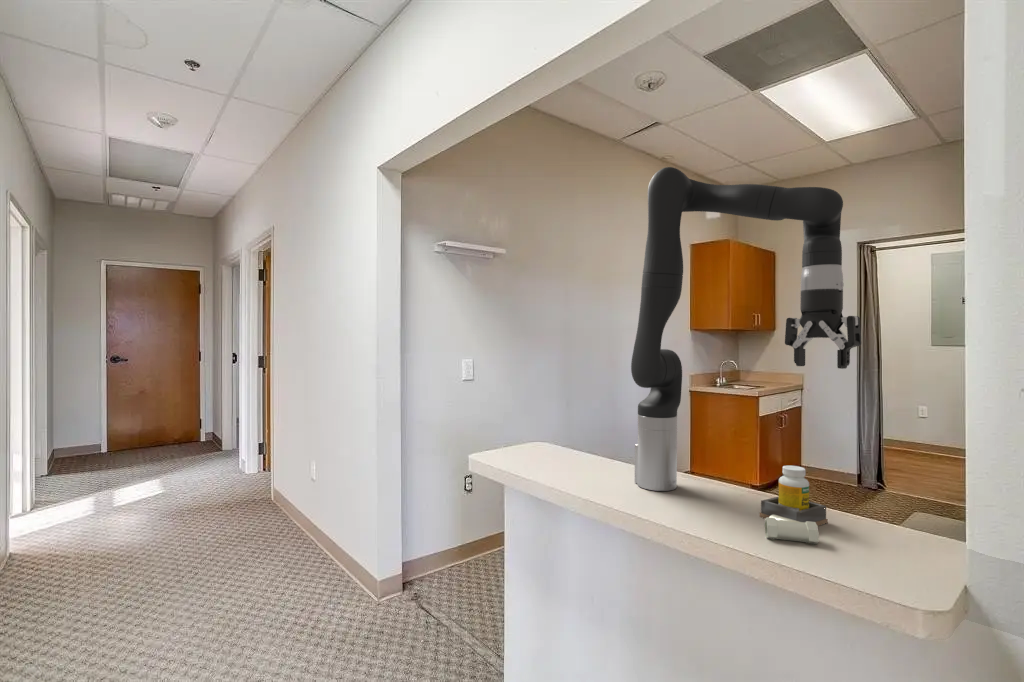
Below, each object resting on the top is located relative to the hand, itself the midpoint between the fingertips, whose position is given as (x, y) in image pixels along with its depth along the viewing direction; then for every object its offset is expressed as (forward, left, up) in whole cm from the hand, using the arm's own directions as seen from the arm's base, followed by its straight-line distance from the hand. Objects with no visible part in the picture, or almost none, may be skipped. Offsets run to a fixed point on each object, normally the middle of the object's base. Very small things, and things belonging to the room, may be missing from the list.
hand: (820, 367), depth 106 cm
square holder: (0, -9, -30) cm, 31 cm away
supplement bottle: (0, -9, -30) cm, 31 cm away
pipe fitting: (+5, -18, -31) cm, 36 cm away
